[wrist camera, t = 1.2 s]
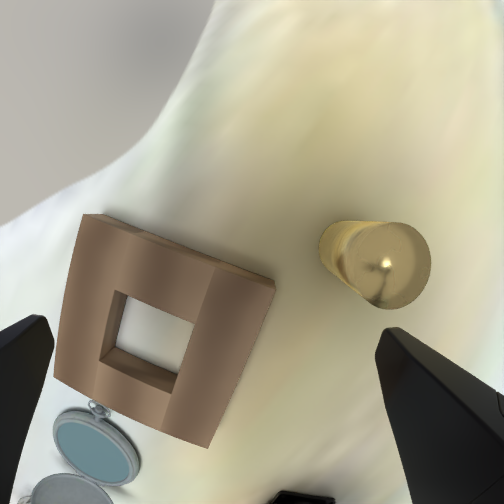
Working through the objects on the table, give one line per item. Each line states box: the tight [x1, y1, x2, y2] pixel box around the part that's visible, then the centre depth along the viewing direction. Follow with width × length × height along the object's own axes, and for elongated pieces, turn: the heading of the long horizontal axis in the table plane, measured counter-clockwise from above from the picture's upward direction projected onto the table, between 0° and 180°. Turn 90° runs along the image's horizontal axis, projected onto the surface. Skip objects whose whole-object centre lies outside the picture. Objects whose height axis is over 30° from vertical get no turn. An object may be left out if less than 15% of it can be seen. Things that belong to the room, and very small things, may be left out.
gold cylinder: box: [319, 221, 431, 309], centre depth 18 cm, size 4×4×9 cm
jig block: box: [53, 214, 276, 449], centre depth 22 cm, size 14×14×3 cm
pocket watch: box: [31, 400, 139, 504], centre depth 20 cm, size 10×11×15 cm
